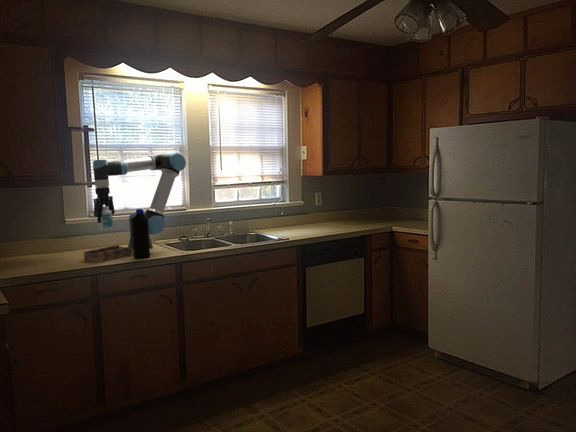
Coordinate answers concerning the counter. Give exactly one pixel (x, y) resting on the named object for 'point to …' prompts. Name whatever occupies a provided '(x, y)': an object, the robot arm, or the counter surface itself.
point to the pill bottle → (106, 219)
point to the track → (107, 253)
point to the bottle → (140, 235)
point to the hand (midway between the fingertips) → (105, 227)
